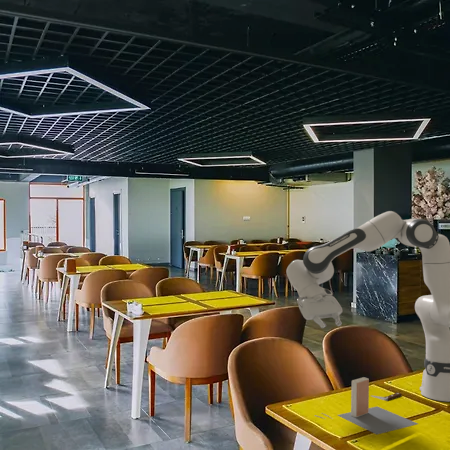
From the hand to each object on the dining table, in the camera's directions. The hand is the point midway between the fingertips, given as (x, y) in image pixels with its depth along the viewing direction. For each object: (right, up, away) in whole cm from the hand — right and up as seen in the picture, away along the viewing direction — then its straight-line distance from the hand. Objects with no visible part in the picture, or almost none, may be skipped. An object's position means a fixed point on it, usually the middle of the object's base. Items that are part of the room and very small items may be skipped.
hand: (332, 326), depth 183 cm
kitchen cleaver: (+18, -30, +5) cm, 35 cm away
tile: (+7, -28, -13) cm, 32 cm away
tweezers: (-3, -29, -19) cm, 35 cm away
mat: (+11, -29, -18) cm, 36 cm away
